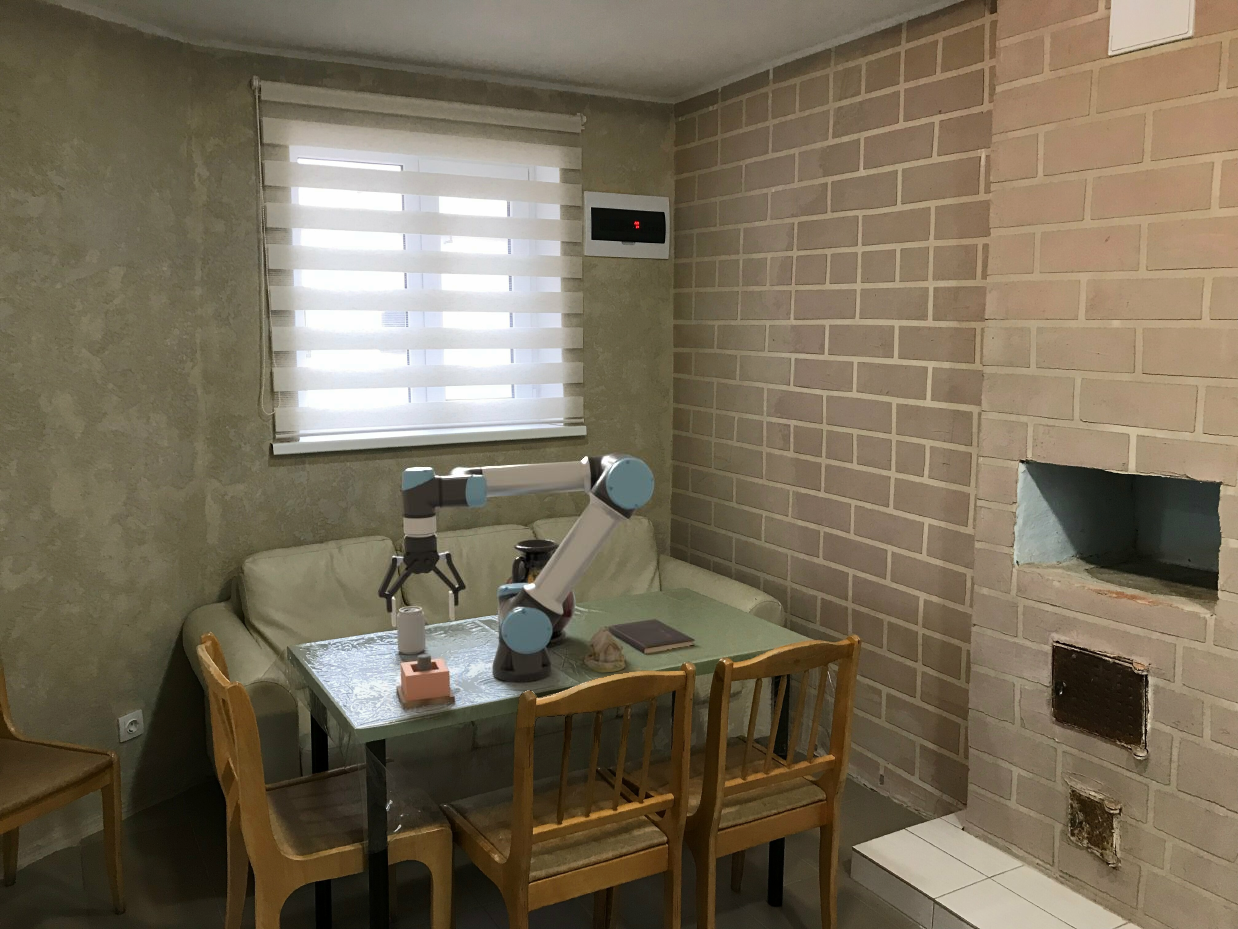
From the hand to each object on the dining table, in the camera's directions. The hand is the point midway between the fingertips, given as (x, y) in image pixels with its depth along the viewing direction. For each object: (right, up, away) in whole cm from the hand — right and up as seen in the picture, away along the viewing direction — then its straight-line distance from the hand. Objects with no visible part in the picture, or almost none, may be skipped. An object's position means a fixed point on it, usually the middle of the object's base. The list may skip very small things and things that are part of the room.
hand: (423, 622), depth 229 cm
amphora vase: (+23, -13, +46) cm, 53 cm away
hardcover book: (+55, -13, +47) cm, 74 cm away
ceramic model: (+43, -15, +26) cm, 53 cm away
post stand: (0, -18, +2) cm, 18 cm away
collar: (0, -17, +2) cm, 17 cm away
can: (-11, -14, +37) cm, 41 cm away
